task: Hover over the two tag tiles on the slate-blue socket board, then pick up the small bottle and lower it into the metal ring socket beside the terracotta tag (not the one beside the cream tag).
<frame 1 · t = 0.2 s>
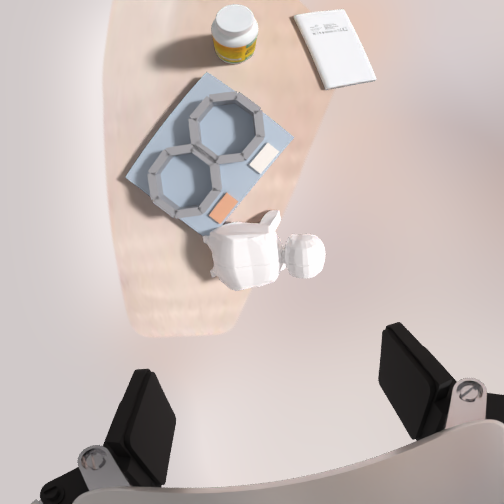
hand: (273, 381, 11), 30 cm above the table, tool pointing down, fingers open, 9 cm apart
external hard drive: (333, 49, 33), on the table
supplement bottle: (234, 48, 32), on the table
socket board: (208, 155, 36), on the table
white figurine: (260, 241, 40), on the table, touching socket board
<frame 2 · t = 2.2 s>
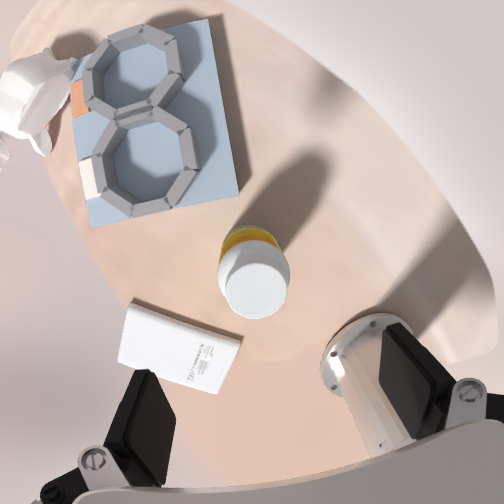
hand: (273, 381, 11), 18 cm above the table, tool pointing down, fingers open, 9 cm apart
external hard drive: (176, 347, 31), on the table
supplement bottle: (249, 250, 28), on the table
socket board: (148, 120, 24), on the table
white figurine: (40, 118, 23), on the table, touching socket board
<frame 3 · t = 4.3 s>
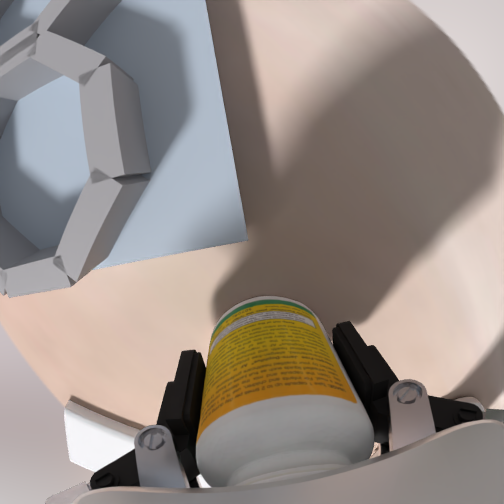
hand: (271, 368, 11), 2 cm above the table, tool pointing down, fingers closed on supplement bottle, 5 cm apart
external hard drive: (149, 454, 17), on the table
supplement bottle: (266, 340, 14), on the table, touching gripper
socket board: (63, 81, 9), on the table
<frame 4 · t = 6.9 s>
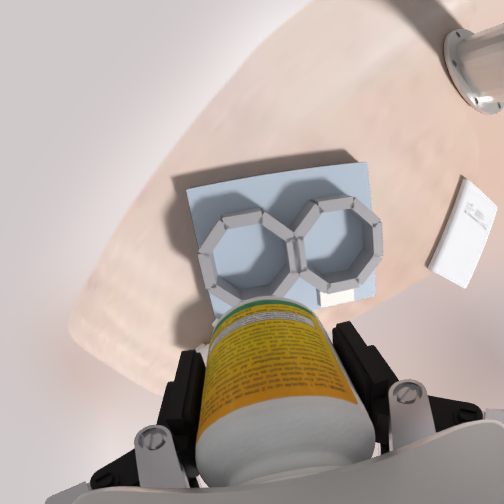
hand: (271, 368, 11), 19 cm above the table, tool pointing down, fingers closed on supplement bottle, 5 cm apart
external hard drive: (461, 234, 31), on the table
supplement bottle: (266, 340, 13), point 16 cm above the table, touching gripper
socket board: (288, 242, 29), on the table
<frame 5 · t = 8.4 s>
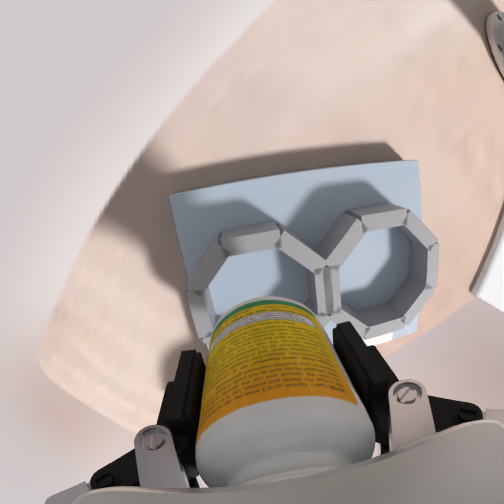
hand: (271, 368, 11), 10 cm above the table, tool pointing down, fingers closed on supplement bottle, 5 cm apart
supplement bottle: (266, 340, 13), point 8 cm above the table, touching gripper
socket board: (311, 267, 21), on the table
when the fingers open (5 cm above the table, at t = 9.8 s): supplement bottle drops 1 cm, resting on socket board.
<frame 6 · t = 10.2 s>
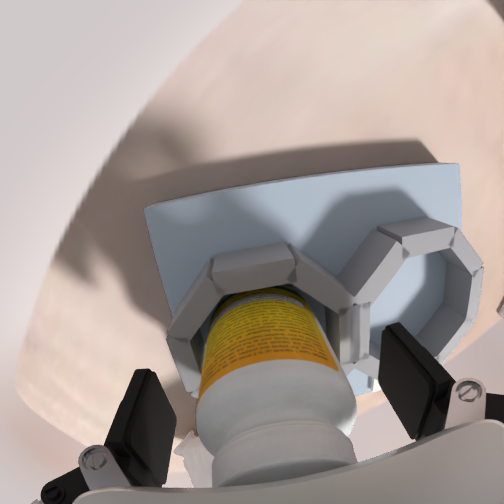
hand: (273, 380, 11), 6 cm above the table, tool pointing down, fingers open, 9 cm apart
supplement bottle: (261, 323, 15), point 2 cm above the table, touching socket board
socket board: (327, 295, 17), on the table
white figurine: (272, 437, 21), on the table, touching socket board
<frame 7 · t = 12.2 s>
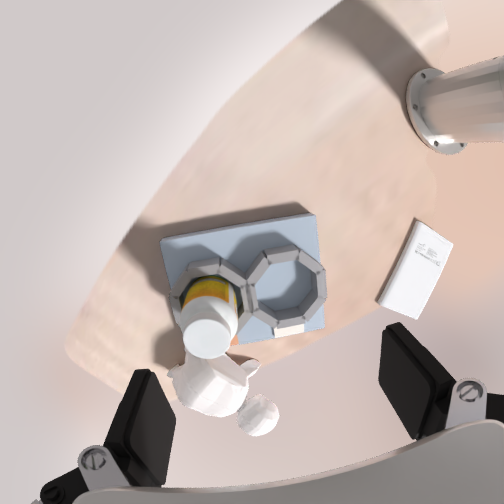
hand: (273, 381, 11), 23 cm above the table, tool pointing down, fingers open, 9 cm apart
external hard drive: (414, 270, 37), on the table
supplement bottle: (211, 294, 33), point 2 cm above the table, touching socket board
socket board: (246, 283, 34), on the table
white figurine: (225, 372, 38), on the table, touching socket board
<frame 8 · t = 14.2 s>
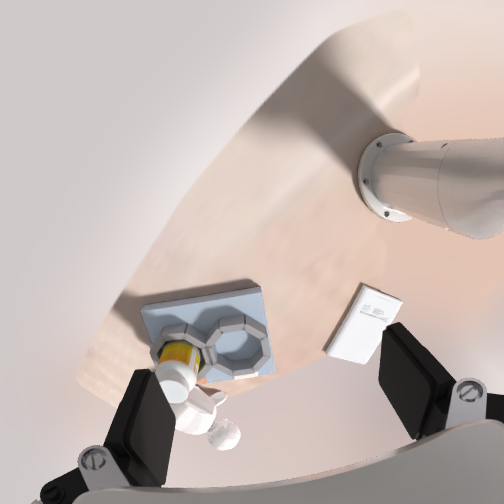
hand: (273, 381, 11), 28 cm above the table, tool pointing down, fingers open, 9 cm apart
external hard drive: (362, 324, 44), on the table
supplement bottle: (183, 348, 40), point 2 cm above the table, touching socket board
socket board: (211, 338, 42), on the table
white figurine: (201, 399, 46), on the table, touching socket board
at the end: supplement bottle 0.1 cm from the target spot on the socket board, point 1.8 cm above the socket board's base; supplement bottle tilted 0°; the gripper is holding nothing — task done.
